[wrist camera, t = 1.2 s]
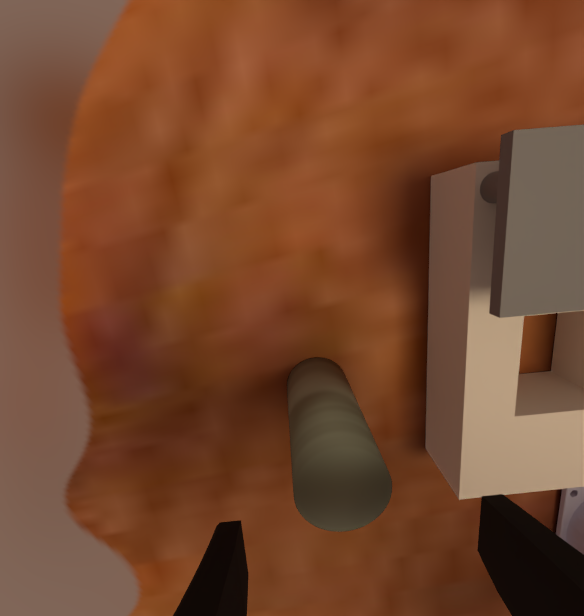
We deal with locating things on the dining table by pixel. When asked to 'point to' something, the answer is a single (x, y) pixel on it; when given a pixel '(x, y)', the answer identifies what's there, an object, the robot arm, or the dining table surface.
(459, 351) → the socket board
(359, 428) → the dowel
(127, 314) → the dining table surface
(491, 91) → the dining table surface
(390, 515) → the dining table surface
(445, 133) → the dining table surface
